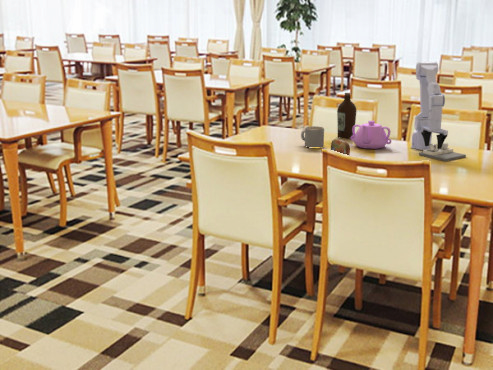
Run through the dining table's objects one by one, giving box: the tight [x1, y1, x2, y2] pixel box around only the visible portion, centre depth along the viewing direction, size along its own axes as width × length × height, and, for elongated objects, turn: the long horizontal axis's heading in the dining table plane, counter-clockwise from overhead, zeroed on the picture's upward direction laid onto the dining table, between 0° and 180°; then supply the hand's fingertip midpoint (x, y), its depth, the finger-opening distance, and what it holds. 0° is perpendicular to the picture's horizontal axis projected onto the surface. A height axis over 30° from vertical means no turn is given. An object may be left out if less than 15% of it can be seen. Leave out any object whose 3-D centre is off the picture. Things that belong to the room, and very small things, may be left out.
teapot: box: [350, 120, 392, 150], centre depth 317 cm, size 22×22×14 cm
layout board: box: [418, 142, 467, 162], centre depth 297 cm, size 16×15×5 cm
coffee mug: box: [300, 125, 325, 148], centre depth 322 cm, size 13×10×10 cm
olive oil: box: [336, 92, 357, 140], centre depth 342 cm, size 11×11×25 cm
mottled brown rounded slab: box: [330, 138, 351, 156], centre depth 297 cm, size 15×3×8 cm, turn 21°
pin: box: [429, 143, 437, 152], centre depth 298 cm, size 4×4×4 cm
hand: (433, 147), depth 297 cm, fingers open, 7 cm apart
